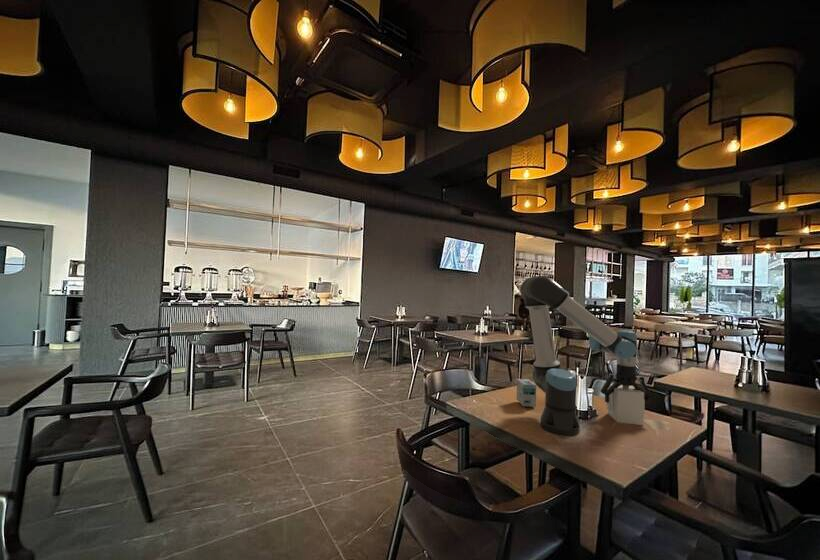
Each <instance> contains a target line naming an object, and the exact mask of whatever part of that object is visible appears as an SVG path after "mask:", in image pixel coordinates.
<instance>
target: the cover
mask: <svg viewBox="0 0 820 560" xmlns="http://www.w3.org/2000/svg"><path fill="white" fill-rule="evenodd" d="M613 384H614V383H611V384H610V386H609V388H610V387H611V386H612V385H613ZM609 388H608V389H609ZM644 394H645V392H644V391H642V390H641V391H640V390H636V389H635V388H634V387H633V386H632V385H631V386H628V385H622V384H621V385H620V386H619V387H618V388H614V391H613V392H612V393H611V394H610V396H611V411H609V410H608V409H607V414H608V415H609V416H610V417H611V418H612V419H613V420H614V421H615V422H616V423H619V424H628V425H629V424H630V425H638V426H644V422H643V421H644V419H645V418H644V417H645V414H644Z"/></svg>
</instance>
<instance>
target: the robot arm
mask: <svg viewBox="0 0 820 560" xmlns="http://www.w3.org/2000/svg"><path fill="white" fill-rule="evenodd" d="M519 289H520V290H519V291H520V294H521V296H522V298H523V301H524V307H525V308H526V309H527V310H528V311H529V319H530V325H531V333H532V339H533V347H534V353H535V361H534V362H533V363H532V364H533V369H532V370H533V371H532V380H533V381H534V382H533V383H534V384H535V385H536V387H537V388H539V389H540V390H541V391H543V393H545V397H544V398H545V400H544V401H545V403H544V408H543V411H542V414H541V416H540V420H539V421H540V423H539V425H540V427H542V428H543V429H545V430H546V431H547V432H550V433H553V434H557V435H561V436H576V435H577V436H578V434H580V431H581V427H580V426H581V425H580V423H579V419H578V416H577V413H576V407H577V403H576V402H577V385H578V384H577V377H576V375H575V374H574V373H573V372H571V371H569V370H566V369H563V368H562V367H561V362H560V361H559V360H558V359H557V356H556V350H555V343H554V337H553V329H552V324H551V316H550V309H551V310H552V311H553V310H557V312H559V313H560V314H561V315H563V316H564V317H566V318H567V319H568V320H569V321H571V322H573V323H574V324H575V326H577V327H578V328H580V329H581V330H582V331H584V332H585V333H586V334H587V335H589V337H588V338H589V339H588V345H589V348H590V349H591V350H593V351H597V352H599V351H600V352H606V353H608V354H611V355H613V356H615V357H616V363H617V364H616V368H615V369H616V370H615V371H616V374H612V373H610V372H609V373H608V376H607V378H606V380H605V382H604V384H603V386H602V388H601V389H600V393H601V394H602V395H604V402H605V403H606V409H607V411H608V410H609V411H611V396H610V394H611V393H612V392H613V391H614V388H618V387H619V386H620V385H628V386H633V387H634V388H635V389H636V390H640V391H642V390H643V393H644V415H645V411H646V410H645V408H646V407H647V406H648V400H649V399H653V396H652V394H651V392H650V390H649V388H648V386H647V385H646V383H645V377H643V376H642V375H638V376H637V366H636V365H637V347H638V344H637V342H638V338H637V337H638V336H637V333H636V332H635V331H634V330H633V331H632V330H626V329H625V330H624V329H622V330H620V329H619V330H617V332H615V331H614V330H613V329H612V328H610V327H609V326H608V325H607V324H605V323H604V322H603V321H602V320H600V319H599V318H598V317H596V316H595V314H592V313H591V312H590V311H588V309H587V308H585V307H584V306H582V305H581V304H580V303H578V301H576V300H574V299H573V298H572V297H571V296H570V293H569V291H567V290H566V289H565V288H563V287H562V285H560V284H558V283H557V282H556V281H555V280H554V279H551V278H550V277H548V276H546V275H539V276H531V277H527V278H526V279H525V280H524V281H523V282H522V283H521V285H520V288H519ZM615 379H616V380H615ZM614 380H615V381H614ZM613 381H614V383H613ZM636 381H638V382H639V384H640V386H641V388H642V390H641V388H640V387H639V386H638V384H636ZM610 384H613V385H612V386H611V387H610V388H609V386H610Z"/></svg>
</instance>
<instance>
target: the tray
mask: <svg viewBox="0 0 820 560" xmlns="http://www.w3.org/2000/svg"><path fill="white" fill-rule="evenodd" d="M643 424H645V425H647V426H648V427H649V428H650V429H652V430H656V431H657V430H658V431H661V430H666V431H667V430H668V431H670V429H669V427H667V424H669V422H668V421H662V420H656V419H655V420H652V419H645V418H644V421H643Z"/></svg>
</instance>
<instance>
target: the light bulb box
mask: <svg viewBox="0 0 820 560" xmlns="http://www.w3.org/2000/svg"><path fill="white" fill-rule="evenodd" d="M516 400H517V402H519V404H520V405H521V406H523V407H534V408H536V407H537V385H536V384H535V382H533V381H531V380H530V379H529V378H528V379H527V378H516Z"/></svg>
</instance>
